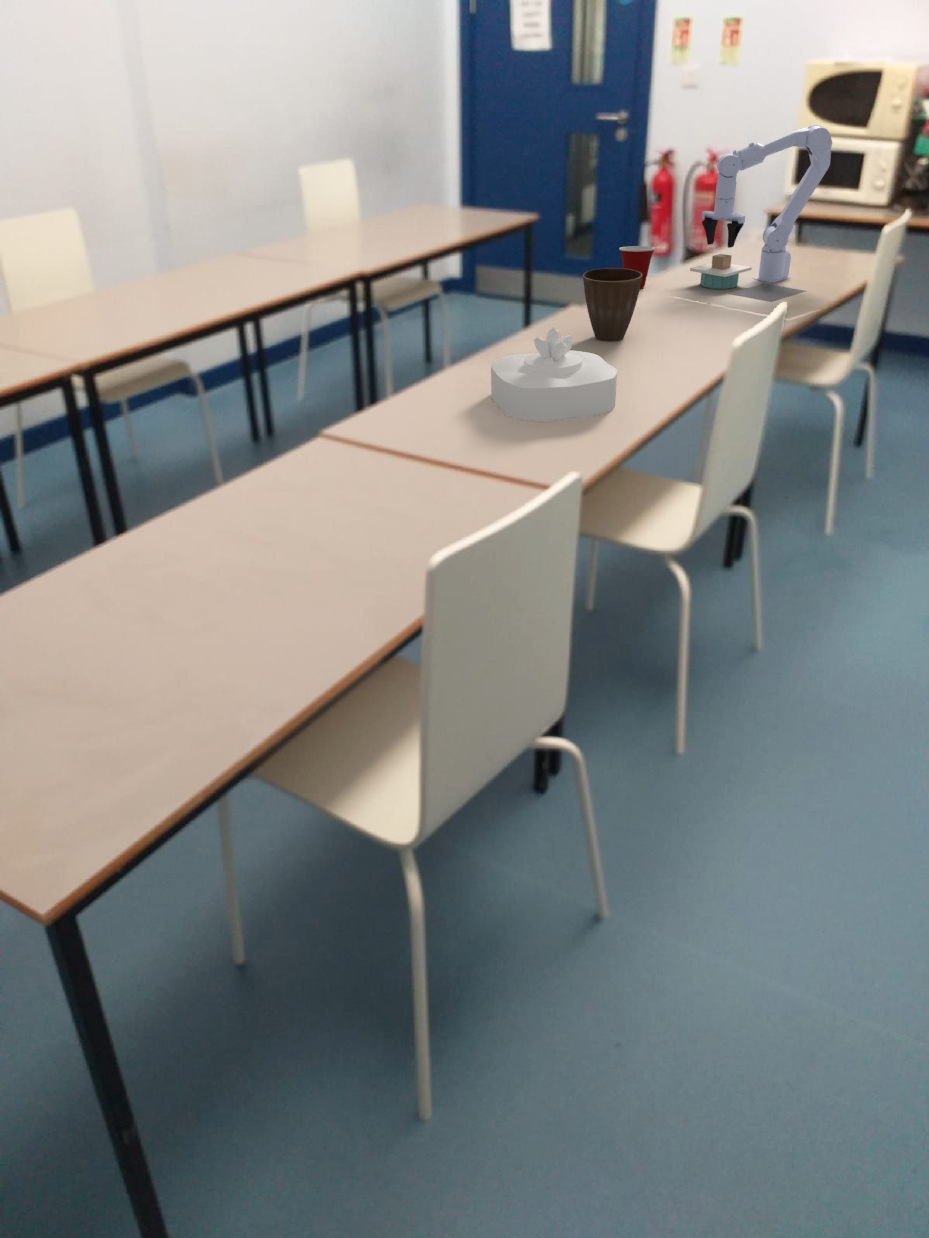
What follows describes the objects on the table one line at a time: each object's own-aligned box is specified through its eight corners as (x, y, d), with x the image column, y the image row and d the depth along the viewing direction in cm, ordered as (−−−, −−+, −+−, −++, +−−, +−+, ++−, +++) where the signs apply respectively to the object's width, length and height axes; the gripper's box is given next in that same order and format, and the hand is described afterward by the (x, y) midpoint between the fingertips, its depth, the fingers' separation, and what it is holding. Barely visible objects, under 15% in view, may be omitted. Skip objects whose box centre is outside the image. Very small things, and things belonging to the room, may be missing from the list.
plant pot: (644, 344, 247) (648, 279, 239) (586, 347, 247) (588, 282, 238) (631, 328, 260) (635, 266, 252) (576, 331, 260) (578, 269, 251)
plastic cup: (651, 283, 305) (654, 243, 299) (653, 291, 296) (656, 249, 290) (616, 283, 306) (618, 243, 300) (617, 291, 297) (619, 250, 291)
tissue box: (627, 413, 204) (632, 337, 196) (513, 427, 200) (513, 349, 191) (586, 379, 225) (589, 308, 217) (482, 390, 221) (481, 318, 212)
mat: (763, 285, 298) (763, 283, 298) (806, 292, 288) (806, 291, 288) (727, 295, 289) (727, 293, 288) (770, 303, 279) (771, 301, 278)
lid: (716, 264, 303) (717, 249, 301) (751, 270, 295) (753, 255, 293) (690, 271, 296) (691, 256, 294) (725, 277, 288) (726, 262, 286)
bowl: (715, 281, 305) (716, 265, 302) (744, 287, 297) (746, 270, 295) (693, 287, 299) (694, 271, 296) (722, 293, 291) (724, 276, 289)
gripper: (697, 197, 296) (693, 244, 303) (737, 202, 286) (731, 250, 293) (711, 195, 300) (707, 241, 307) (751, 199, 290) (745, 247, 297)
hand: (720, 245), depth 300 cm, fingers open, 7 cm apart
